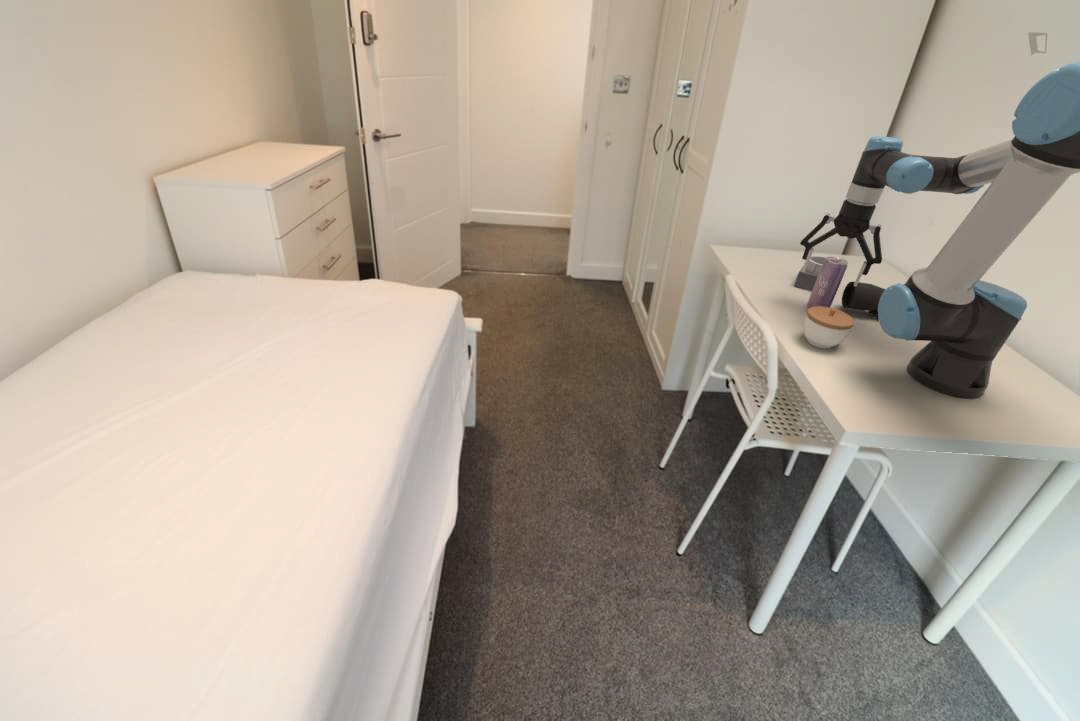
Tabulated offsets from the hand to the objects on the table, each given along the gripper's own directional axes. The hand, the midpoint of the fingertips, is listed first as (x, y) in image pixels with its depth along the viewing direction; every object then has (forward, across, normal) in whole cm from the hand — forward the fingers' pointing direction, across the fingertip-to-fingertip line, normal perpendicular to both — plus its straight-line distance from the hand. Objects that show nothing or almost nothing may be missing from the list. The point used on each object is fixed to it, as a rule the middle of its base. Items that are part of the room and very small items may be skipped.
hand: (828, 277), depth 142 cm
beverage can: (+10, 0, 0) cm, 10 cm away
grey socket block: (+10, +4, -20) cm, 22 cm away
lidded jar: (+10, -4, +22) cm, 25 cm away
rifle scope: (+10, -18, -8) cm, 22 cm away
